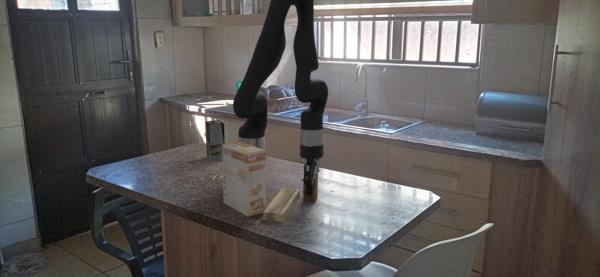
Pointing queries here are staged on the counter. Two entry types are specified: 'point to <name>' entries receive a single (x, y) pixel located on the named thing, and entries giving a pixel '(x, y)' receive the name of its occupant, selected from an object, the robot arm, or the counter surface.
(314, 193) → the brown block with peg
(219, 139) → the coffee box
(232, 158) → the coffeecake box
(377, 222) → the counter surface
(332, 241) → the counter surface
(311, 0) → the robot arm
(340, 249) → the counter surface
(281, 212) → the board
